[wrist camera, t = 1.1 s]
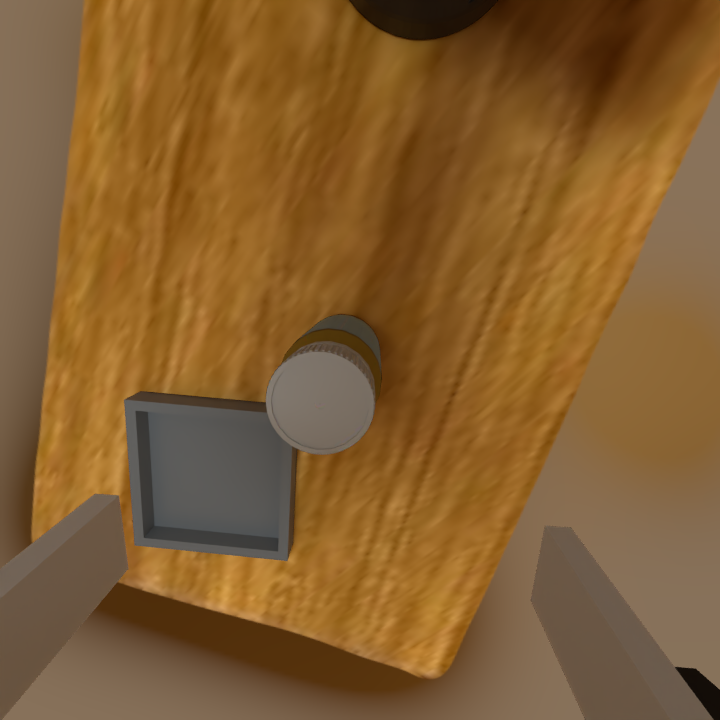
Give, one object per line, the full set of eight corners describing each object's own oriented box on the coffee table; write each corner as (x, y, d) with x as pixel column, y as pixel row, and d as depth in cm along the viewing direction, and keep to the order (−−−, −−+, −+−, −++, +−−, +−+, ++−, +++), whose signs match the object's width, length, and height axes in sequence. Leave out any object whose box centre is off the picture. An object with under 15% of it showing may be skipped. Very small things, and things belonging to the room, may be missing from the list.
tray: (140, 391, 37) (124, 399, 34) (298, 405, 36) (293, 415, 34) (149, 528, 41) (134, 545, 38) (292, 543, 40) (287, 560, 38)
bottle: (304, 381, 36) (255, 454, 21) (309, 309, 34) (260, 336, 20) (375, 389, 36) (374, 468, 21) (384, 317, 34) (389, 350, 20)
